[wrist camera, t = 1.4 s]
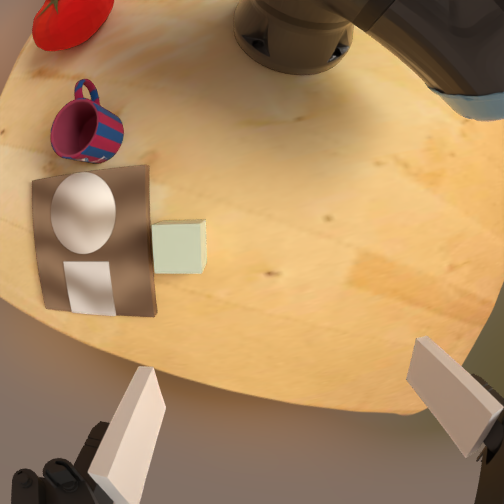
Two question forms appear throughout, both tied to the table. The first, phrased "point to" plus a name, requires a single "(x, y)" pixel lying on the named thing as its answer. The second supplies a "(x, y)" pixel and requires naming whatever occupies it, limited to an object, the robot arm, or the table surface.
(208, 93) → the table surface
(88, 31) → the tomato
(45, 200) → the board
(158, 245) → the pale sage green cube
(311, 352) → the table surface
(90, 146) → the mug
